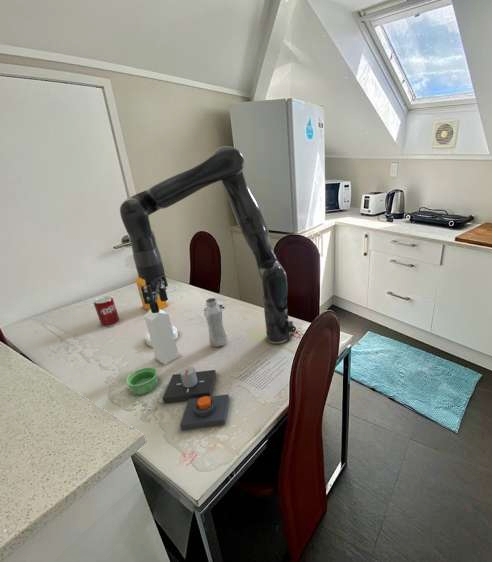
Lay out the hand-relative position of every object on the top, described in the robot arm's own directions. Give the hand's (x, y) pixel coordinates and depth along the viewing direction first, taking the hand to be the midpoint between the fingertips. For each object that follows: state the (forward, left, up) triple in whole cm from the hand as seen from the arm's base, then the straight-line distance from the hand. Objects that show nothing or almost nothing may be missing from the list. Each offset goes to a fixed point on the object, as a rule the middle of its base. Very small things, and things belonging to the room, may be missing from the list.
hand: (160, 306), depth 106 cm
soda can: (+38, -36, -24) cm, 57 cm away
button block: (-16, +27, -24) cm, 40 cm away
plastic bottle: (-14, -10, -24) cm, 30 cm away
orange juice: (+23, -49, -24) cm, 59 cm away
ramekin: (+7, +11, -24) cm, 27 cm away
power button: (-16, +27, -20) cm, 38 cm away
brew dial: (-9, +15, -21) cm, 28 cm away
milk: (+4, -4, -24) cm, 25 cm away
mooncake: (+10, -18, -24) cm, 32 cm away
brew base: (-9, +15, -24) cm, 30 cm away
